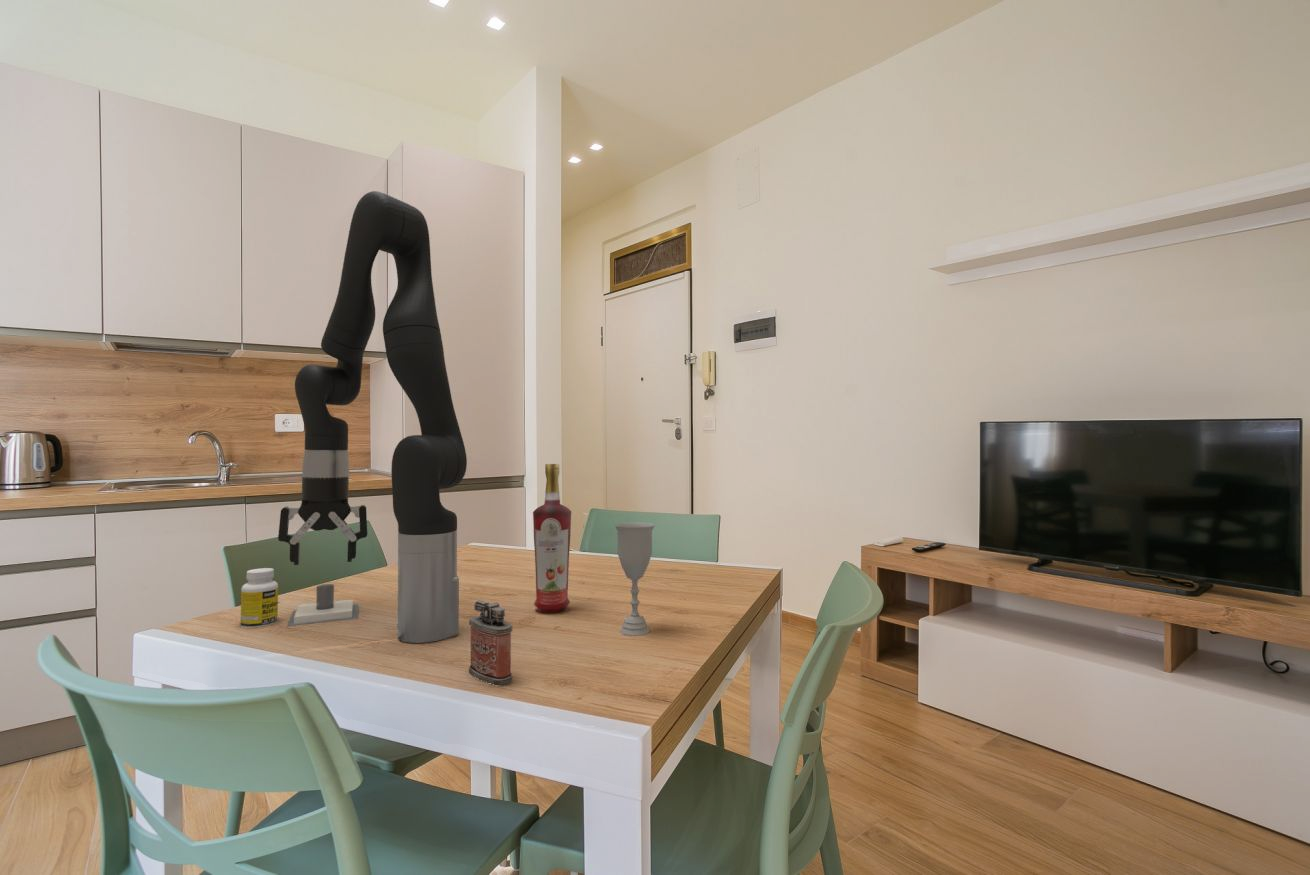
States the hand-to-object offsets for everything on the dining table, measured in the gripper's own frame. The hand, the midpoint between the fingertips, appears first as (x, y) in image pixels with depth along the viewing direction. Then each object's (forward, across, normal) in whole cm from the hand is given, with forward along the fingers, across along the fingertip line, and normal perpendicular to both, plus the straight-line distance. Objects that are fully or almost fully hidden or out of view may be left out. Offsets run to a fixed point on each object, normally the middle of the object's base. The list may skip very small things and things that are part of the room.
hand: (323, 562), depth 110 cm
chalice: (+9, +48, -32) cm, 59 cm away
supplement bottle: (+10, -10, -1) cm, 14 cm away
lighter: (+9, +22, -42) cm, 49 cm away
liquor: (+9, +39, -14) cm, 43 cm away
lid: (+9, 0, 0) cm, 9 cm away
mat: (+10, 0, 0) cm, 10 cm away
